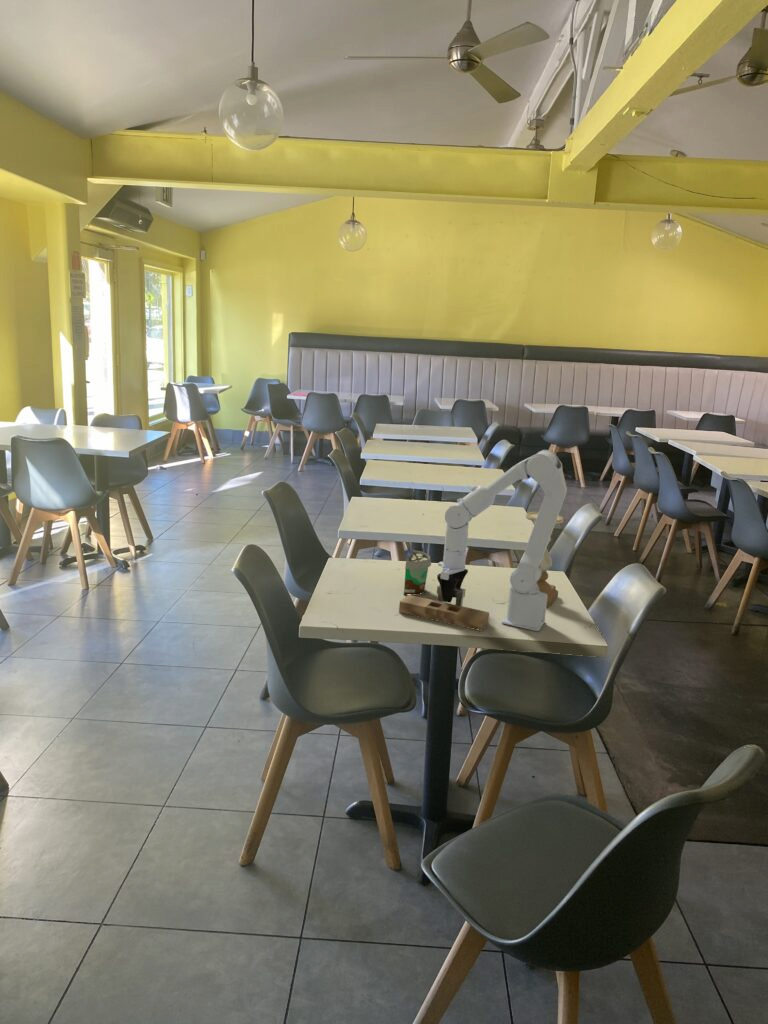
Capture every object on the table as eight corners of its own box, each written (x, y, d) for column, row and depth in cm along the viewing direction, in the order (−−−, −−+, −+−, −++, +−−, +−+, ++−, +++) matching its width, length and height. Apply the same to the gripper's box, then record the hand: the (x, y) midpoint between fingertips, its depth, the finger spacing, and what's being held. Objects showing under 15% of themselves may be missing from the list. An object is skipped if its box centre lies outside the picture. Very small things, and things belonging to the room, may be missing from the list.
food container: (425, 599, 197) (428, 564, 195) (402, 596, 198) (405, 561, 196) (431, 585, 209) (434, 552, 207) (410, 582, 210) (413, 549, 208)
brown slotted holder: (488, 623, 183) (489, 612, 183) (481, 631, 178) (482, 619, 177) (407, 605, 192) (408, 594, 191) (398, 612, 186) (399, 601, 185)
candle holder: (509, 598, 202) (519, 516, 197) (521, 588, 212) (531, 509, 206) (548, 607, 198) (559, 523, 192) (558, 596, 207) (569, 515, 202)
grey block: (463, 608, 192) (465, 589, 191) (460, 611, 190) (462, 591, 189) (438, 603, 195) (440, 584, 193) (435, 606, 192) (437, 586, 191)
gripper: (449, 540, 197) (445, 587, 200) (431, 552, 183) (426, 603, 187) (474, 544, 194) (469, 592, 197) (457, 557, 181) (452, 609, 184)
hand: (450, 598), depth 192 cm, fingers open, 5 cm apart
